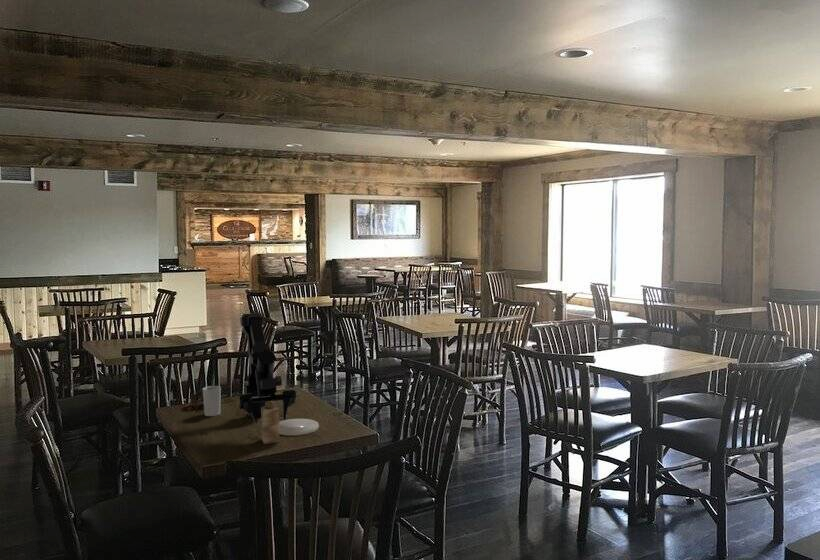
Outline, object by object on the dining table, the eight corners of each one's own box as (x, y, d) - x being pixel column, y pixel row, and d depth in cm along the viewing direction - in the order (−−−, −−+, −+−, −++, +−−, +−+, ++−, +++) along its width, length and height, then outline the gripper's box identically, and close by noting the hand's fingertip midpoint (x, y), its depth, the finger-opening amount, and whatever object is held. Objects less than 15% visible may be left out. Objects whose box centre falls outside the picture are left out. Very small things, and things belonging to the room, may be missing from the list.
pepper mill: (263, 443, 209) (263, 404, 208) (261, 439, 214) (260, 401, 213) (279, 442, 211) (278, 403, 210) (276, 437, 216) (276, 399, 215)
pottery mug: (208, 411, 249) (196, 393, 248) (193, 418, 253) (182, 401, 252) (228, 396, 259) (217, 379, 258) (213, 403, 264) (202, 386, 263)
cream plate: (278, 438, 215) (278, 434, 215) (268, 425, 229) (268, 421, 229) (324, 431, 222) (324, 428, 222) (311, 419, 236) (311, 416, 236)
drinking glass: (223, 411, 247) (223, 385, 246) (219, 416, 240) (218, 390, 239) (206, 411, 247) (205, 386, 246) (201, 416, 240) (200, 390, 239)
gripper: (238, 370, 211) (243, 411, 202) (294, 365, 218) (301, 406, 209) (236, 388, 219) (240, 429, 210) (291, 383, 226) (297, 422, 216)
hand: (270, 421), depth 211 cm, fingers open, 9 cm apart
